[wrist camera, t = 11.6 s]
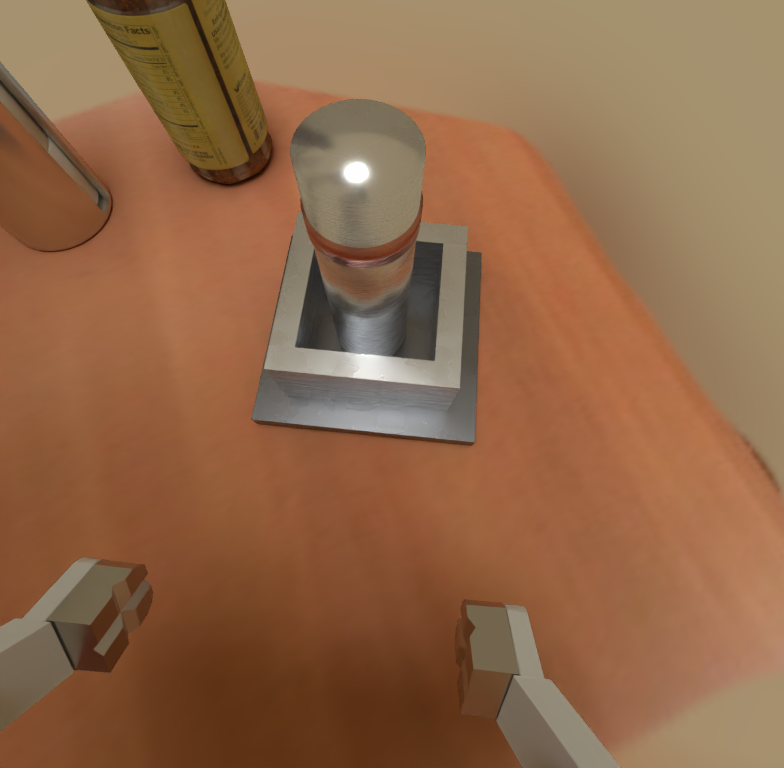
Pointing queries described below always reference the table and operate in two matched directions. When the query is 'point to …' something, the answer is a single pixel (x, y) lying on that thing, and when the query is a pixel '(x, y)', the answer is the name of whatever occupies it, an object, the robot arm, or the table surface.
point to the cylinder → (362, 215)
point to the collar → (372, 372)
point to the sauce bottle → (193, 80)
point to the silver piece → (44, 178)
